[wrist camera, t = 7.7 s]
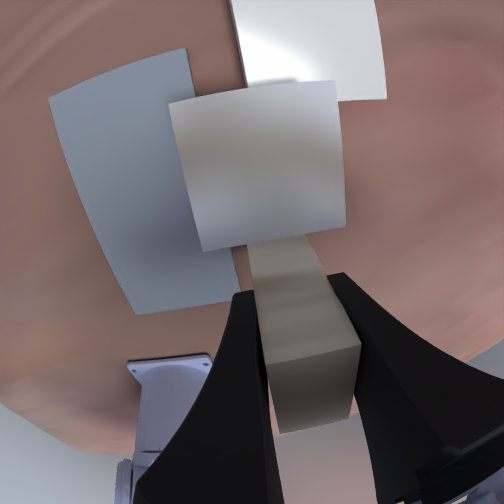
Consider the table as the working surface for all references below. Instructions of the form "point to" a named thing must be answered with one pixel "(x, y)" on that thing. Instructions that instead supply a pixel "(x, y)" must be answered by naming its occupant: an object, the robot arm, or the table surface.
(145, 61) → the mat
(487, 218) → the table surface
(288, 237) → the turner
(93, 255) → the table surface
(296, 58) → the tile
